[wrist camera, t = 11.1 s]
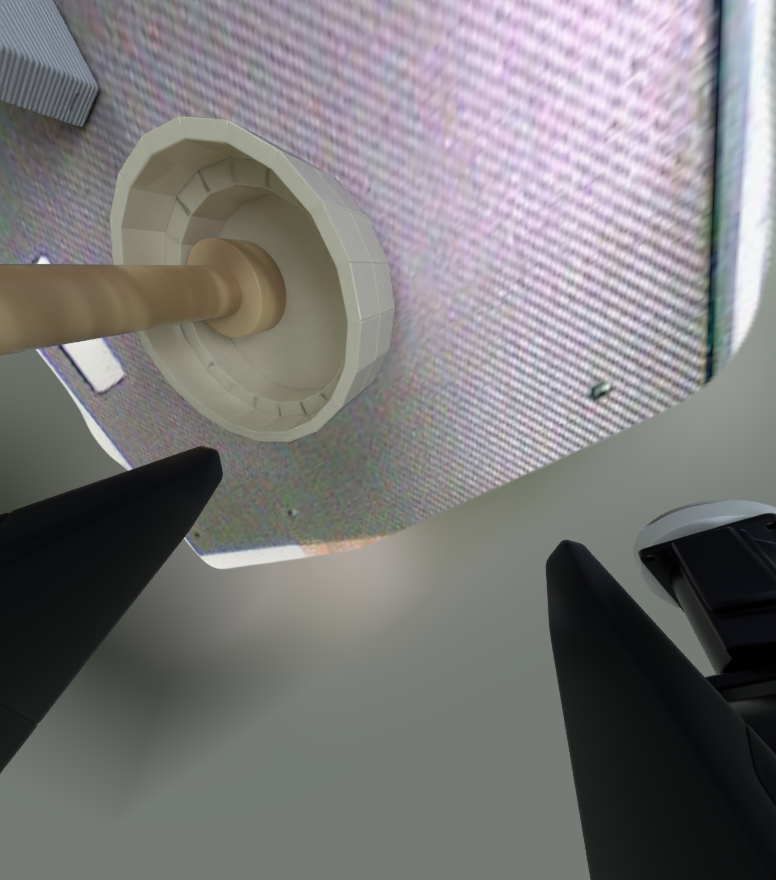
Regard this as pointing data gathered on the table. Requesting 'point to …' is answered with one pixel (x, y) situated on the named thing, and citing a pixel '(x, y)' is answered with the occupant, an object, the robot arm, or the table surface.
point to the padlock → (43, 62)
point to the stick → (140, 296)
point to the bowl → (291, 247)
